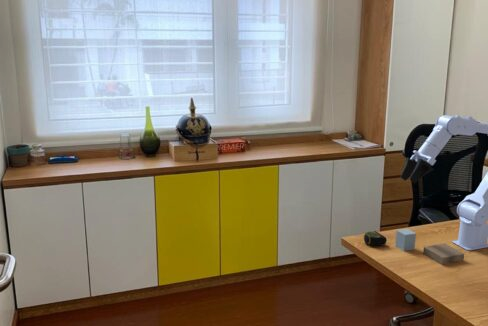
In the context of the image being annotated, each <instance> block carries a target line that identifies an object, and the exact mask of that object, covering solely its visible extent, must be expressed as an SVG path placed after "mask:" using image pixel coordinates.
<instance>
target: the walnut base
mask: <svg viewBox="0 0 488 326" xmlns="http://www.w3.org/2000/svg"><path fill="white" fill-rule="evenodd" d="M422 251H423V252H422V254H423V255H424V256H426V257H428V258H429V259H431V260H433V261H434V262H436V263H437V264H440V265H441V266H443V265H450V264H454V263H459V262H464V258H465V253H464V252H462V251H459V250H458V249H456V248H455V247H452V246H450V245H449V244H447V243H438V244H435V245H434V244H433V245H429V246H427V245H426V246H424V247H423V250H422Z"/></svg>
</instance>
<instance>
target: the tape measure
mask: <svg viewBox="0 0 488 326" xmlns="http://www.w3.org/2000/svg"><path fill="white" fill-rule="evenodd" d="M363 241H364V242H365V243H366V244H367V245H369V246H370V245H371V246H375V247H376V246H378V247H379V246H381V245H385V244H386V243H387V238H386V236H384V235H382V233H379V232H378V231H376V230H374V231H366V232H365V233H364V235H363Z"/></svg>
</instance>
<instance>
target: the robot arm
mask: <svg viewBox="0 0 488 326" xmlns="http://www.w3.org/2000/svg"><path fill="white" fill-rule="evenodd" d="M476 133H479V134H480V133H481V134H487V135H488V123H487V122H478V121H477V120H476V118H474V117H473V116H470V115H469V116H468V115H467V116H466V117H462V116H460V115H457V114H456V115H454V116H451V115H447V114H443V115H441V116H440V117H437V119H436V121H435V125H434V127H433V129H432V132H431V133H429V134H430V135H429V136H427V138H426V140H425V141H424V142H423V144H422V145H421V146H420V148H419V149H418V150H413V151H412V153H413V154H412V155H411V157H406V158H405V164H404V168H403V170H402V171H401V174H400V179H402V180H403V181H407V180H410V181H411V182H412V183H413V184H416V183H417V182H418V181H419V180H421V178H423V177H425V176H426V175H427V174H429V173H431V172H433V171H434V168H433V167H432V166H434V165H435V164H436V162H437V160H436V157H437V156H438V155H439V154H440V152H441V151H442V150H443V148H444V147H445V145H447V143H448V142H449V140H450V139H451V138H452V136H457V135H461V136H464V135H465V136H473V135H475V134H476ZM456 213H457V215H458V216H459V217H458V218H459V219H460V222H459V230H458V239H456V240H452V241H451V242H452V244H455V245H457V246H459V247H461V248H463V249H464V250H466V251H473V250H481V249H486V248H488V223H487V221H488V171H487V172H486V174H485V176H484V177H483V179H482V180H481V182H480V183H479V185H478V187H477V188H476V190H475V191H474V192H473V193H471V194H468V195H466V196H465V197H464V199H463V200H462V201H460V202H459V203H458V205H457V207H456Z"/></svg>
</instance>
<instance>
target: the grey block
mask: <svg viewBox="0 0 488 326" xmlns="http://www.w3.org/2000/svg"><path fill="white" fill-rule="evenodd" d="M416 236H417V233H416V232H414V230H413V231H412V230H410V229H409V228H403V229H397V230H396V235H395V247H397V248H398V249H400V250H401V251H403V252H405V251H411V250H415V249H416V247H415V246H416V238H417V237H416Z"/></svg>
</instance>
